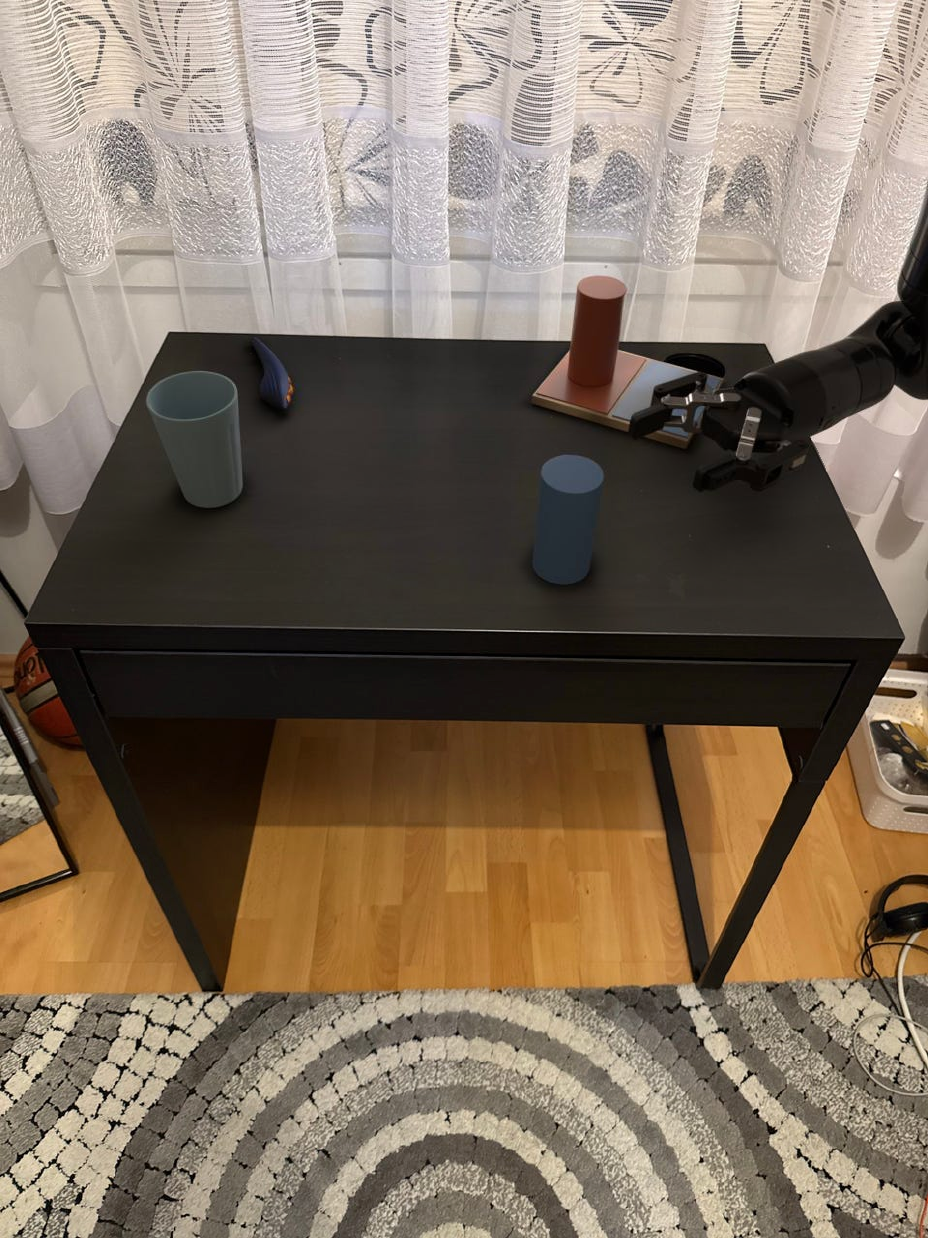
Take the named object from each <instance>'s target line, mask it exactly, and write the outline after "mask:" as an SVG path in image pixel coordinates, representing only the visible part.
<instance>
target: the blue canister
mask: <svg viewBox="0 0 928 1238" xmlns="http://www.w3.org/2000/svg"><path fill="white" fill-rule="evenodd" d="M604 480H605V473H604V470H603V469H602V467H601V466H600V465H599V464H598V463H596V462H595V461H594V460H593V459H590V458H588V457H586V456H581V455H578V454H562V455H558V456H555V457H553V458H552V457H551V458H550V459H548V460H547V461H546V462H545V463H544V464H543V465H542V468H541V471H540V481H539V490H538V491H539V492H538V502H537V511H536V522H535V532H534V543H533V553H532V562H531V564H532V568H533V571H534V572H535V574H536V575H537V576H538V577H540V579H542V580H544V581H545V582H548V583H550V584H553V585H554V584H555V585H573V584H576V583H578V582H581V581H582V580H584V579H585V578H586V576H587V575H588V574H589V572H590V569H591V568H590V567H591V561H592V555H593V550H594V543H595V537H596V531H597V524H598V518H599V511H600V505H601V499H602V493H603V487H604Z"/></svg>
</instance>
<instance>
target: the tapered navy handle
mask: <svg viewBox="0 0 928 1238" xmlns="http://www.w3.org/2000/svg"><path fill="white" fill-rule="evenodd" d="M250 344H251V346H252V348H253V349H254V351H255V353H256V354H257V356H258V359H259V360H260V362H261V366H262V369H263V378H262V380H261V382H260V385H259V395H260V398H262V399H263V401H265V402H266V403H267V404H269V405H271V406H272V407H274V408H277V409H280V410H284V411H285V410H286V409H287V408H288V406H289V405H290V404H291V400H292V397H293V393H294V387H293V386H292V381H291V378H290V377H289V374H288V372H287V370H286V368H285V367H284V365H283V363H282V362H281V360H280V359H279V358H278V356H276V355H275V353H274V352H273V351H272V350H271V349H270V348H269V347H268V346H267V345H265V343H264V342H262V341H261V340H260V338H258V337H255V336H253V337H252V338H251V339H250Z"/></svg>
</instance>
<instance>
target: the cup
mask: <svg viewBox="0 0 928 1238" xmlns="http://www.w3.org/2000/svg"><path fill="white" fill-rule="evenodd" d="M238 397H239V395H238V389H237V386H236V384H235V383H234V381H233V380H231V379H230V378H229V377H227V376H225V375H223V374H220V373H217V372H213V371H205V370H192V371H184V372H180V373H176V374H173V375H169V376H168V377H165V378H163V379H161V380H159V381H158V382H156V383H155V384H154V385H153V386H152V387H151V388H150V389H149V390H148V392H147V394H146V397H145V404H146V407H147V410H148V412H149V415H150V417H151V420H152V422H153V424H154V427H155V429H156V431H157V433H158V436H159V438H160V441H161V443H162V446H163V448H164V451H165V453H166V456H167V458H168V461H169V464H170V466H171V468H172V470H173V473H174V476H175V478H176V480H177V483H178V485H179V487H180V490H181V493H182V495H183V497H184V499H185V500H186V501H187V502H188V503H189V504H191V505H193V506H195V507H198V508H205V509H212V508H213V509H214V508H220V507H223V506H225V505H228V504H230V503H232V502H233V501H235V500H236V499H237V498H238V497H239V496H240V495H241V494H242V490H243V487H244V486H243V483H244V482H243V466H242V465H243V464H242V450H241V449H242V448H241V433H240V431H241V430H240V416H239V400H238V399H239V398H238Z"/></svg>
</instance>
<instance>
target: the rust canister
mask: <svg viewBox="0 0 928 1238" xmlns="http://www.w3.org/2000/svg"><path fill="white" fill-rule="evenodd" d="M575 292H576V294H575V301H574V302H575V303H574V309H573V318H572V319H573V320H572V329H571V337H570V346H569V351H570V354H569V363H568V372H567V373H568V376H569V378H570V379H571V380H572V381H573V382H575V383H577V384H579V385H582V386H587V387H600V386H604V385H606V384H608V383H610V382H611V381H612V380H613V377H614V372H615V365H616V359H617V352H618V350H619V346H620V339H621V338H620V337H621V332H622V325H623V319H624V313H625V306H626V300H627V293H628V288H627V285H626V284H625V283H624V282H623V281H621V279H618V278H616V277H613V276H609V275H590V276H586V277H584V278H582V279H580V280H578V283H577V284H576V291H575Z"/></svg>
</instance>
